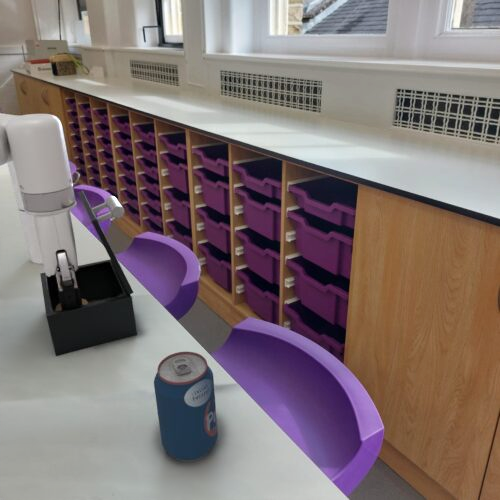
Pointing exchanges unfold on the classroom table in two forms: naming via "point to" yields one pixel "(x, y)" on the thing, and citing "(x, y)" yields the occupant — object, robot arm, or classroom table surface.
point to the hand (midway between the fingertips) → (70, 298)
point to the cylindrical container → (26, 220)
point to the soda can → (186, 405)
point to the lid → (116, 212)
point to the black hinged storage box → (90, 309)
